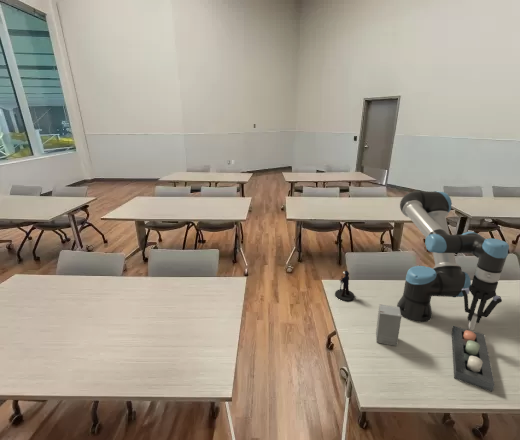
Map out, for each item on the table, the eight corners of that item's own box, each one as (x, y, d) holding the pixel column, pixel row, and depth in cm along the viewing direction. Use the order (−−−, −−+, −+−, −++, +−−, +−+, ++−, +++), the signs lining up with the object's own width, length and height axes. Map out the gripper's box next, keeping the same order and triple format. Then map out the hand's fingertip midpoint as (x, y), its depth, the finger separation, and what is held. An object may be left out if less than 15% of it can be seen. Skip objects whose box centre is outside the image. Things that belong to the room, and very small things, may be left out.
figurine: (345, 288, 159) (348, 265, 154) (358, 298, 150) (361, 273, 146) (331, 293, 155) (333, 268, 150) (343, 303, 147) (345, 277, 142)
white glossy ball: (467, 369, 103) (469, 361, 102) (466, 361, 106) (468, 354, 105) (480, 374, 101) (483, 366, 100) (479, 366, 104) (482, 358, 103)
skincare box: (395, 336, 124) (400, 306, 118) (397, 348, 117) (403, 316, 112) (374, 332, 126) (379, 302, 121) (375, 343, 120) (380, 312, 115)
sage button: (465, 352, 110) (467, 345, 109) (464, 346, 114) (466, 339, 112) (478, 356, 108) (480, 349, 107) (476, 350, 112) (479, 342, 110)
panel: (454, 378, 103) (456, 371, 102) (451, 331, 126) (453, 325, 125) (492, 392, 98) (494, 384, 97) (482, 341, 121) (484, 334, 120)
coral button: (462, 341, 118) (464, 334, 117) (462, 335, 121) (464, 329, 120) (474, 345, 116) (476, 338, 115) (473, 339, 119) (475, 332, 118)
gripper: (466, 278, 109) (452, 327, 117) (509, 287, 103) (492, 339, 111) (464, 269, 115) (452, 317, 123) (505, 278, 109) (489, 327, 117)
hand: (471, 327), depth 117 cm, fingers closed
